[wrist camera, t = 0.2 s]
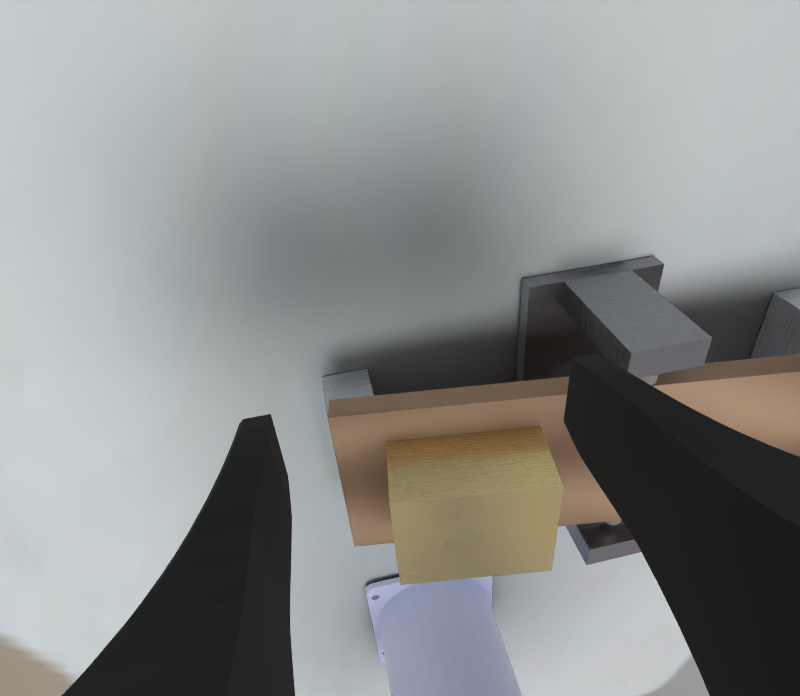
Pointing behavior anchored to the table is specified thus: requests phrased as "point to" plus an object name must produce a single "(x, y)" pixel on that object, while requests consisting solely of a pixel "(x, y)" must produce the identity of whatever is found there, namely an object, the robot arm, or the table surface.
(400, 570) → the block
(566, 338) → the stand
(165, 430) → the table surface
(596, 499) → the beam
